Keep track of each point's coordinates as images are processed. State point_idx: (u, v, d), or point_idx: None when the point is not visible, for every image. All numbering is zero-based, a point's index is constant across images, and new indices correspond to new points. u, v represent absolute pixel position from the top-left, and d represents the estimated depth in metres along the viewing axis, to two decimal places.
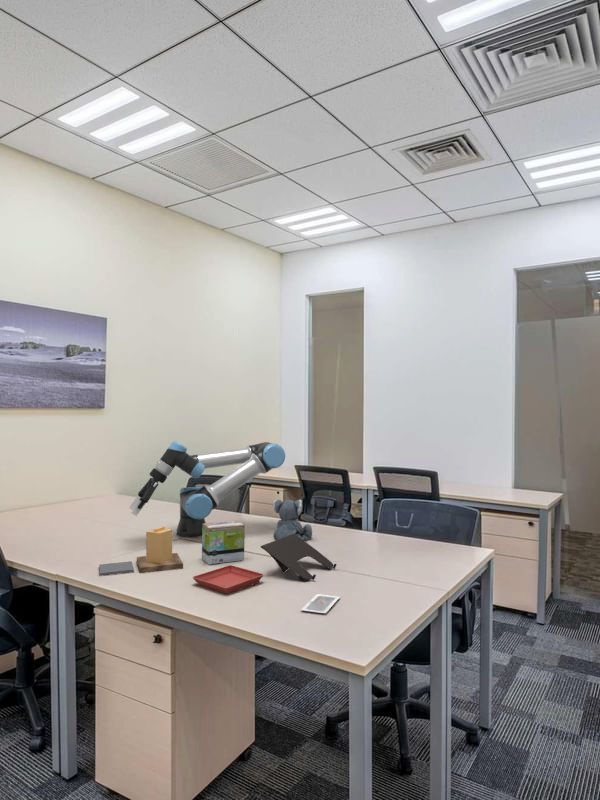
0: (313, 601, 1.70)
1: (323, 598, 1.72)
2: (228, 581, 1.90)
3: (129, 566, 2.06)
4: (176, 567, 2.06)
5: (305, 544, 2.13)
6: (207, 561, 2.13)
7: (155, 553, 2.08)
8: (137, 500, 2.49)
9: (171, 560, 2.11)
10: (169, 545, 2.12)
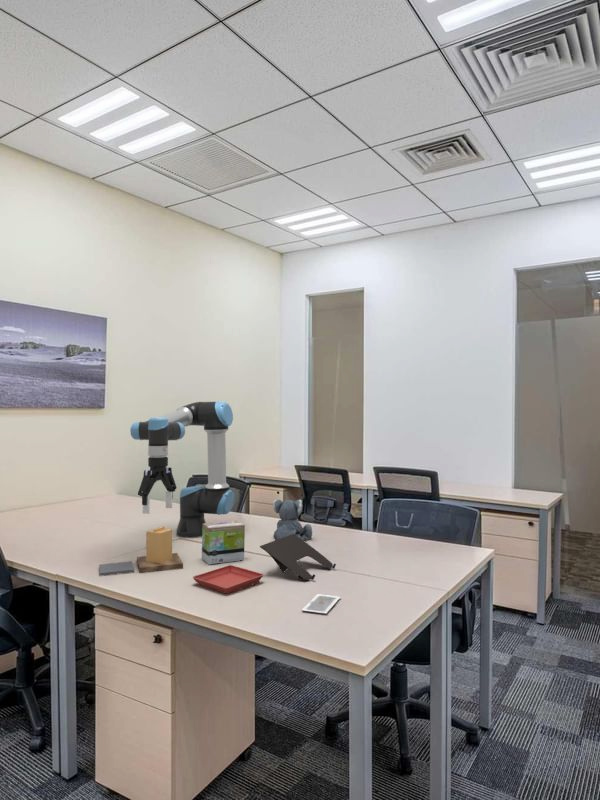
0: (313, 601, 1.70)
1: (324, 598, 1.72)
2: (228, 581, 1.90)
3: (129, 566, 2.06)
4: (176, 567, 2.06)
5: (304, 544, 2.13)
6: (207, 561, 2.13)
7: (155, 553, 2.08)
8: None
9: (171, 560, 2.11)
10: (169, 545, 2.12)
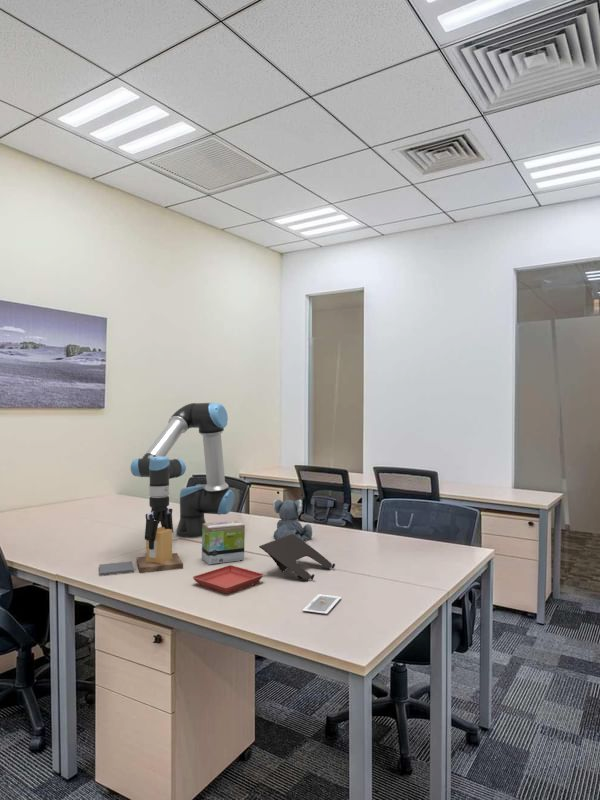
0: (314, 601, 1.70)
1: (324, 598, 1.72)
2: (228, 581, 1.90)
3: (129, 566, 2.06)
4: (176, 567, 2.06)
5: (303, 544, 2.13)
6: (207, 561, 2.13)
7: None
8: None
9: (171, 560, 2.11)
10: (169, 545, 2.12)
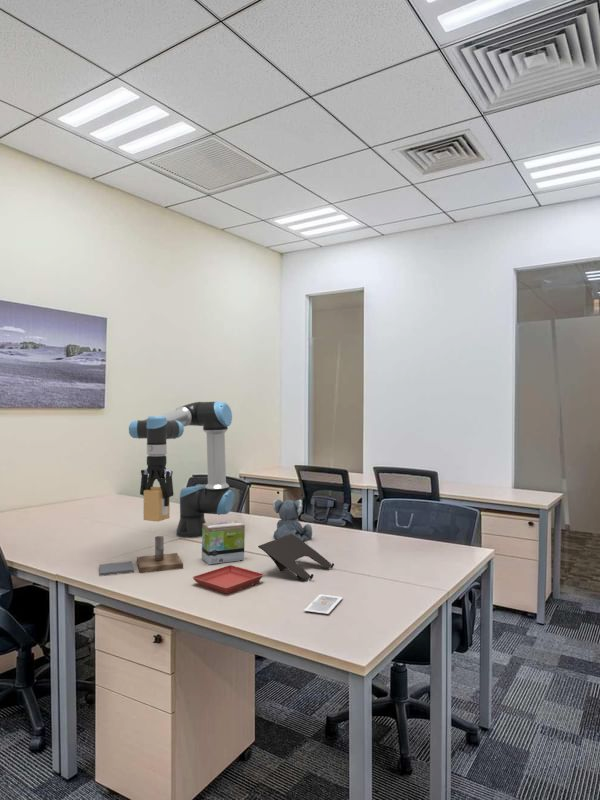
0: (315, 601, 1.70)
1: (326, 598, 1.72)
2: (228, 581, 1.90)
3: (129, 566, 2.06)
4: (176, 567, 2.06)
5: (302, 544, 2.14)
6: (207, 561, 2.13)
7: None
8: None
9: (171, 560, 2.11)
10: (154, 506, 2.08)
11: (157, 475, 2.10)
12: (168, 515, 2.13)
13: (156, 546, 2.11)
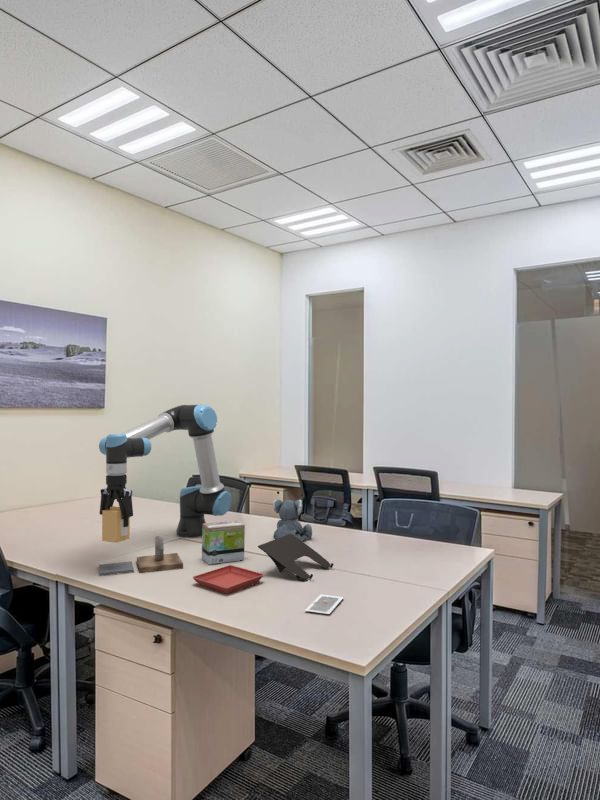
0: (316, 601, 1.69)
1: (327, 598, 1.72)
2: (228, 581, 1.90)
3: (129, 566, 2.06)
4: (176, 567, 2.06)
5: (302, 544, 2.14)
6: (207, 561, 2.13)
7: None
8: None
9: (171, 560, 2.11)
10: (113, 527, 2.02)
11: (116, 495, 2.04)
12: (128, 536, 2.07)
13: (156, 546, 2.11)
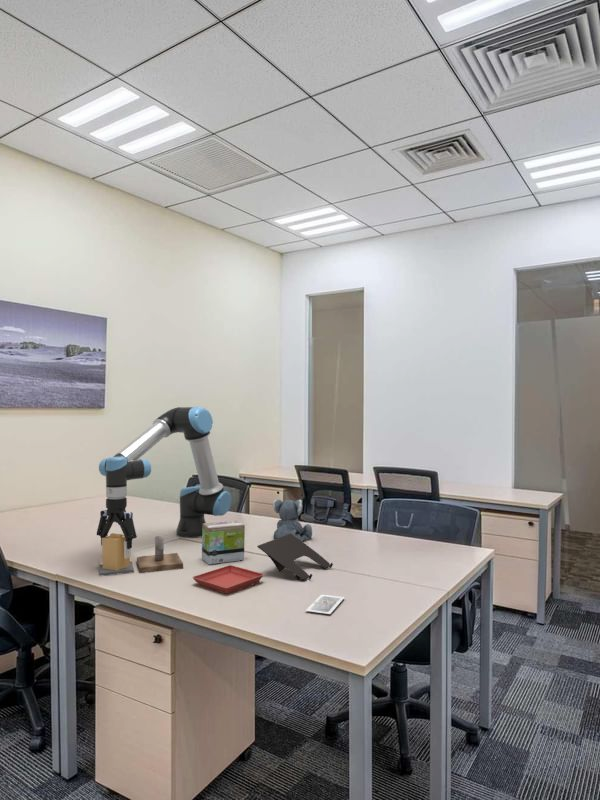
0: (317, 601, 1.69)
1: (327, 599, 1.72)
2: (228, 581, 1.90)
3: (129, 566, 2.06)
4: (176, 567, 2.06)
5: (301, 544, 2.14)
6: (207, 561, 2.13)
7: None
8: None
9: (171, 560, 2.11)
10: (113, 555, 2.02)
11: (117, 518, 2.04)
12: (128, 563, 2.07)
13: (156, 546, 2.11)
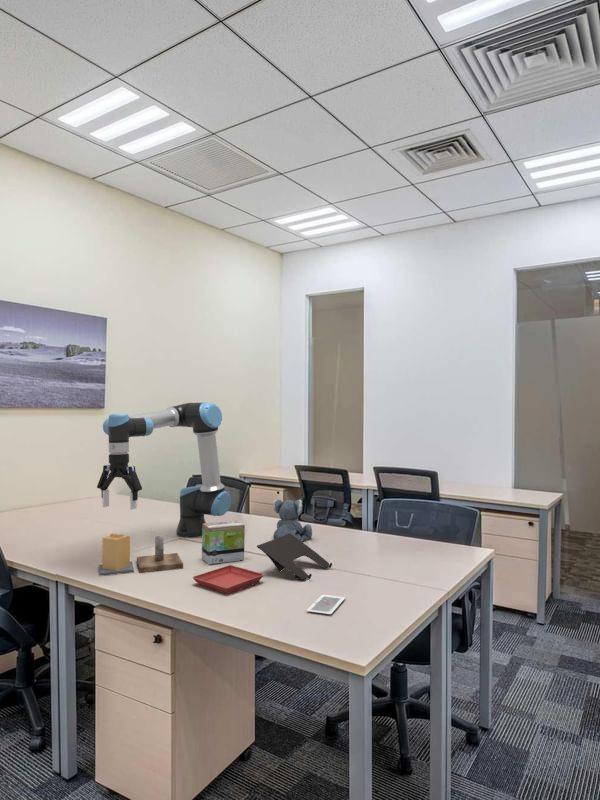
0: (318, 601, 1.69)
1: (328, 599, 1.71)
2: (228, 581, 1.90)
3: (129, 566, 2.06)
4: (176, 567, 2.06)
5: (301, 544, 2.14)
6: (207, 561, 2.13)
7: None
8: (106, 494, 2.13)
9: (171, 560, 2.11)
10: (113, 555, 2.02)
11: (120, 473, 2.08)
12: (128, 563, 2.07)
13: (156, 546, 2.11)
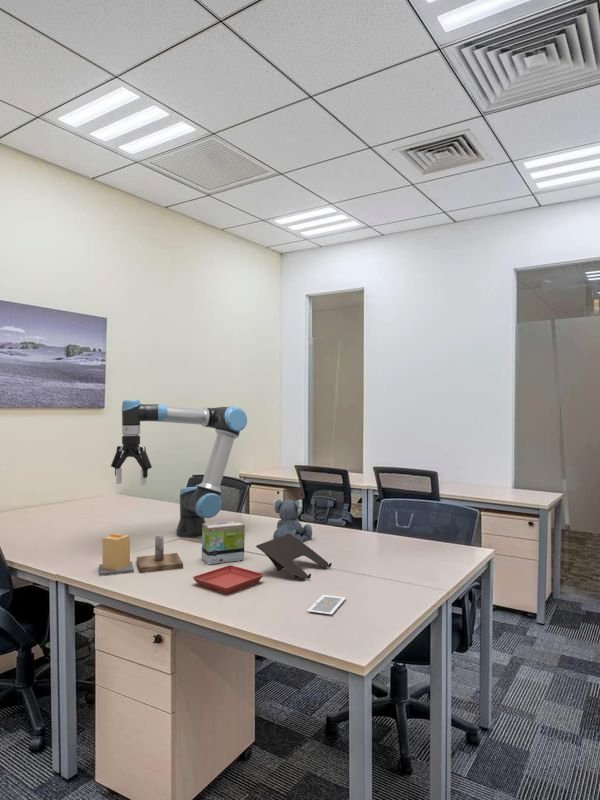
0: (319, 601, 1.69)
1: (329, 599, 1.71)
2: (228, 581, 1.90)
3: (129, 566, 2.06)
4: (176, 567, 2.06)
5: (300, 544, 2.14)
6: (207, 561, 2.13)
7: None
8: (119, 473, 2.36)
9: (171, 560, 2.11)
10: (113, 555, 2.02)
11: (132, 452, 2.31)
12: (128, 563, 2.07)
13: (156, 546, 2.11)
